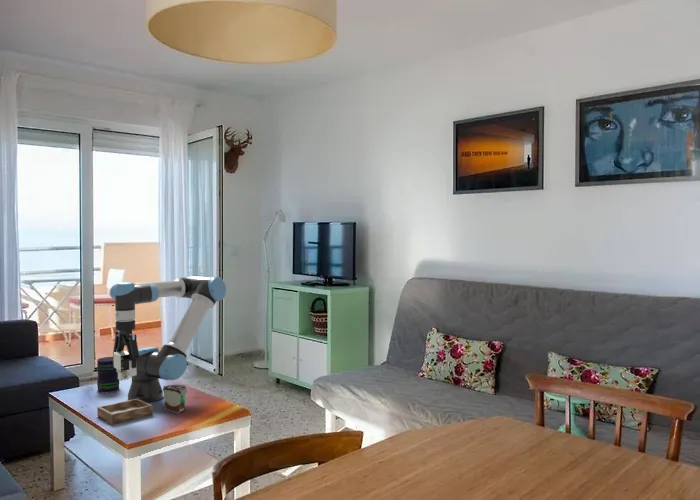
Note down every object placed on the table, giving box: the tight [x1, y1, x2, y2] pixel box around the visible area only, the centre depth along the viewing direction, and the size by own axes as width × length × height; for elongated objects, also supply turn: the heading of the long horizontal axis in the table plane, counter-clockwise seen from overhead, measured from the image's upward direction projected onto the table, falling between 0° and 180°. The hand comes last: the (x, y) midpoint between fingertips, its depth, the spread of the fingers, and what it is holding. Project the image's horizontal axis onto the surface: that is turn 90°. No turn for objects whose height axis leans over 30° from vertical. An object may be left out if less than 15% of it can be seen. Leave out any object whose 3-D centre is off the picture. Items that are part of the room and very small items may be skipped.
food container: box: [162, 384, 188, 414], centre depth 243 cm, size 12×6×10 cm, turn 56°
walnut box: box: [96, 399, 154, 425], centre depth 234 cm, size 17×14×4 cm
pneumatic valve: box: [112, 349, 130, 381], centre depth 234 cm, size 6×12×12 cm, turn 43°
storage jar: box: [96, 356, 120, 393], centre depth 273 cm, size 10×10×15 cm
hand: (126, 373), depth 234 cm, fingers closed on pneumatic valve, 11 cm apart
